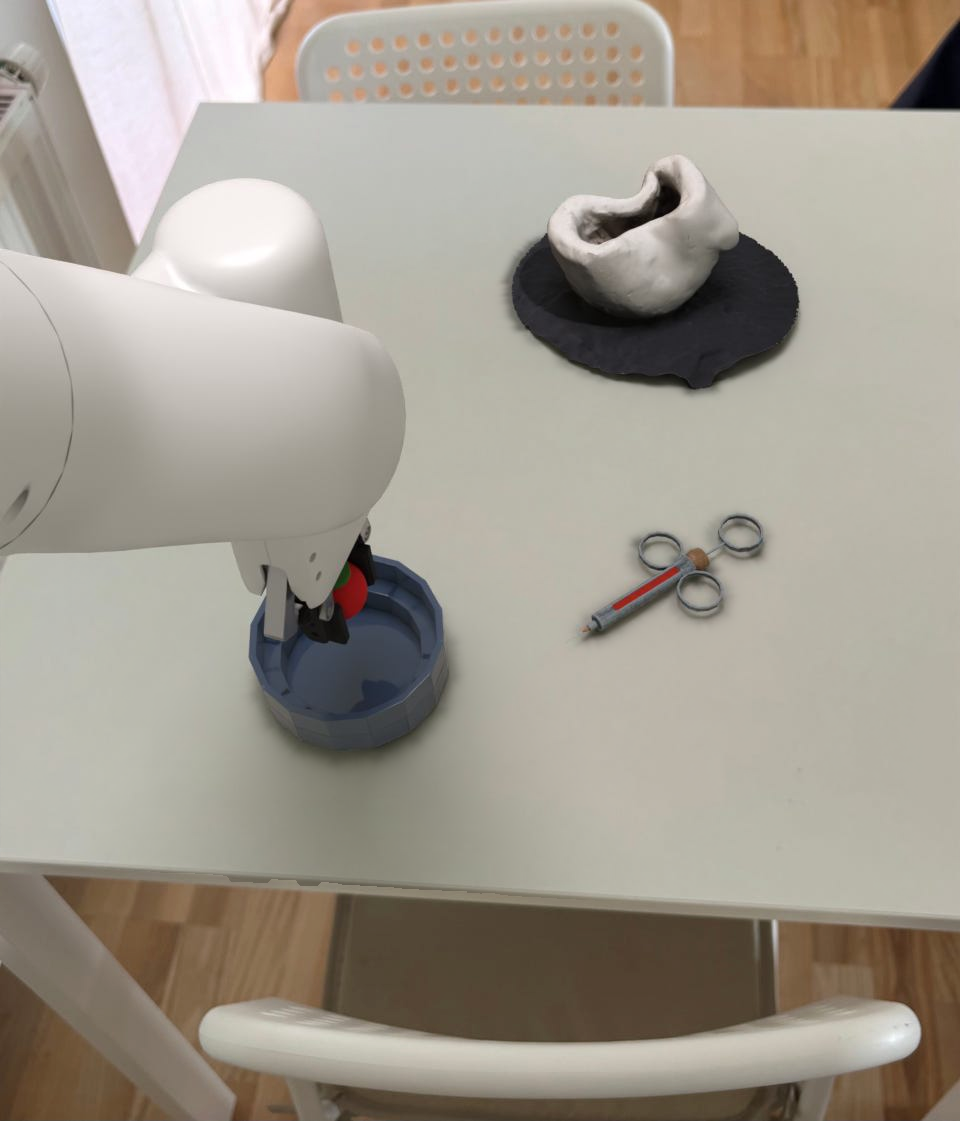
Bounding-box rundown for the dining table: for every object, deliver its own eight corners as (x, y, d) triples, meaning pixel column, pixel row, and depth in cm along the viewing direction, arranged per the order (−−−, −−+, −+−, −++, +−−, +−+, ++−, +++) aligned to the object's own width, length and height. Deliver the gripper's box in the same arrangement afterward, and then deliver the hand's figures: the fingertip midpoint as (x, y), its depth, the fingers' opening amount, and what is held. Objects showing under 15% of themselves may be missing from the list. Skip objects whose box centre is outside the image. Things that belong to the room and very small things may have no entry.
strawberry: (357, 640, 70) (347, 605, 66) (299, 624, 71) (287, 589, 67) (380, 589, 72) (372, 553, 69) (324, 575, 73) (313, 538, 69)
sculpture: (805, 401, 92) (850, 283, 82) (507, 388, 92) (514, 268, 82) (775, 227, 105) (811, 105, 95) (514, 216, 105) (520, 93, 95)
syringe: (532, 611, 80) (532, 599, 78) (721, 496, 85) (724, 482, 84) (597, 688, 76) (598, 676, 75) (791, 563, 81) (795, 549, 80)
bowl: (409, 776, 73) (402, 744, 69) (233, 724, 76) (216, 689, 72) (472, 617, 80) (469, 578, 76) (309, 574, 83) (297, 534, 78)
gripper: (286, 293, 61) (336, 495, 76) (143, 525, 53) (231, 701, 68) (412, 319, 60) (438, 520, 75) (286, 562, 51) (344, 734, 66)
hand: (339, 604), depth 71 cm, fingers closed on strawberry, 3 cm apart
